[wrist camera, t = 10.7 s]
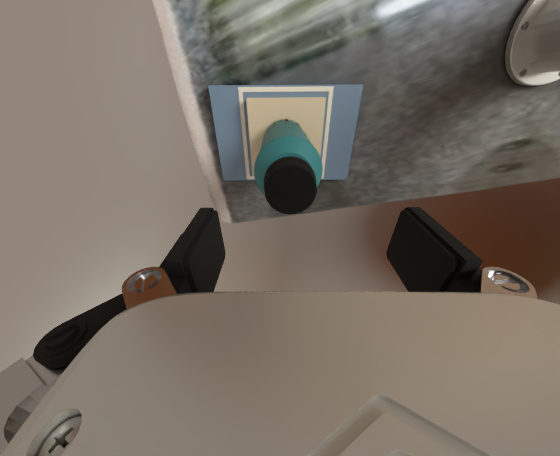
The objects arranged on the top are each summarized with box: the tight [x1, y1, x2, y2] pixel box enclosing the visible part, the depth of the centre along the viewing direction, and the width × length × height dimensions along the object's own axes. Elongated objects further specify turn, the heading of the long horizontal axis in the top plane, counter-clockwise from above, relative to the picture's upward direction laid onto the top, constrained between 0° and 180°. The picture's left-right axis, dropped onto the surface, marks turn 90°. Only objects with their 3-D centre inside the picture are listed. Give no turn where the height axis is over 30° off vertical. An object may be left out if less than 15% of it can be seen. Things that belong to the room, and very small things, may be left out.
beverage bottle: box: [254, 119, 323, 214], centre depth 24 cm, size 6×7×20 cm
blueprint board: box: [208, 84, 363, 181], centre depth 33 cm, size 22×14×4 cm, turn 90°
